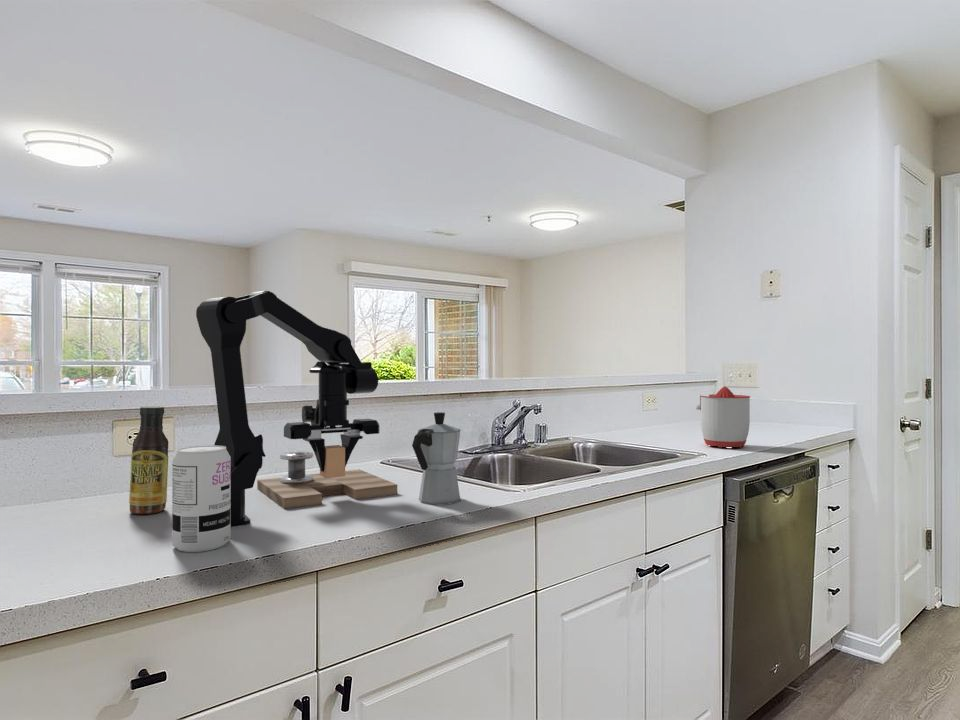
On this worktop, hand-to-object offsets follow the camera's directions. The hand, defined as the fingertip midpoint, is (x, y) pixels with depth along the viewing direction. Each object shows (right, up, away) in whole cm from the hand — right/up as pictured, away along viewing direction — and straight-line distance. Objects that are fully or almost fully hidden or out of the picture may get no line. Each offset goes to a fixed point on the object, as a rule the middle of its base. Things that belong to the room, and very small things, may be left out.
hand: (332, 470), depth 127 cm
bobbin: (-10, -4, +8) cm, 13 cm away
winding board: (-3, -6, +7) cm, 9 cm away
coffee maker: (+22, -6, -2) cm, 23 cm away
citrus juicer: (+111, -6, +77) cm, 135 cm away
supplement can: (-13, -6, -32) cm, 35 cm away
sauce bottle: (-32, -6, -11) cm, 34 cm away
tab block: (0, -1, 0) cm, 1 cm away
